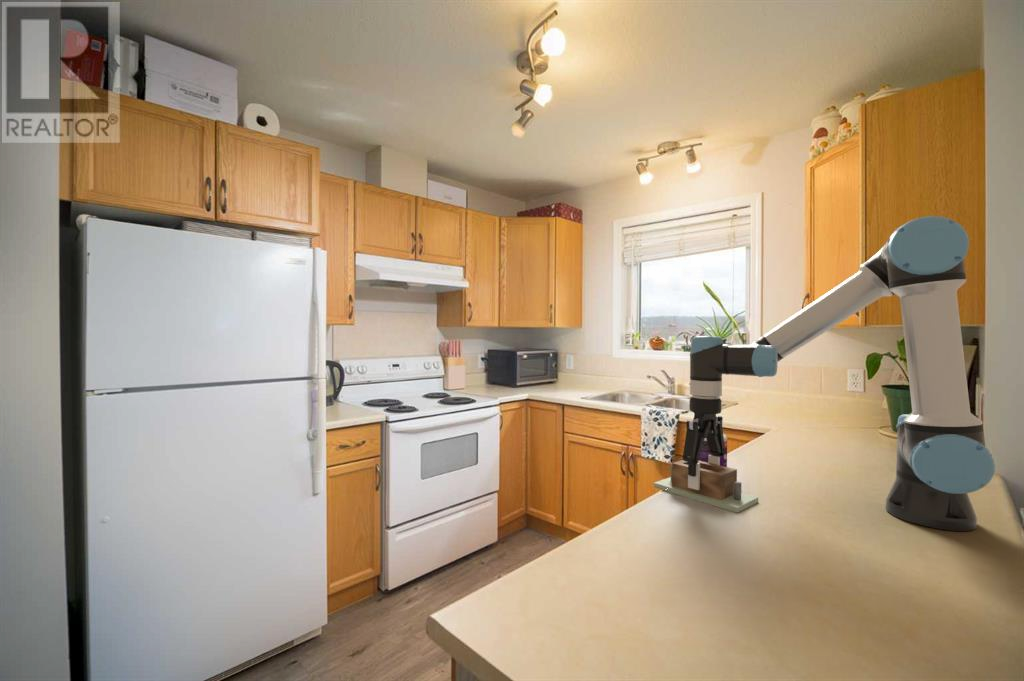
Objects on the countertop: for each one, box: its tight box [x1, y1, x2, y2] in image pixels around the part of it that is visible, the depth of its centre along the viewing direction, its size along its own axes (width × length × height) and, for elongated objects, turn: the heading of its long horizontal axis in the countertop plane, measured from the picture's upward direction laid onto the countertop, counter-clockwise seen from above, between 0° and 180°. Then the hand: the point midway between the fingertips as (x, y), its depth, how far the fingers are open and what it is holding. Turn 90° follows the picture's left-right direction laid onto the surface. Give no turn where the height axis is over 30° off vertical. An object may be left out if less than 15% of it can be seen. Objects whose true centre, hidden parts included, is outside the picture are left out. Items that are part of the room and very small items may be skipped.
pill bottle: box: [699, 426, 728, 467], centre depth 133 cm, size 8×8×14 cm
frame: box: [671, 459, 738, 500], centre depth 117 cm, size 13×8×6 cm, turn 39°
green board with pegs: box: [653, 465, 759, 514], centre depth 117 cm, size 22×11×5 cm, turn 39°
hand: (703, 484), depth 117 cm, fingers open, 9 cm apart
